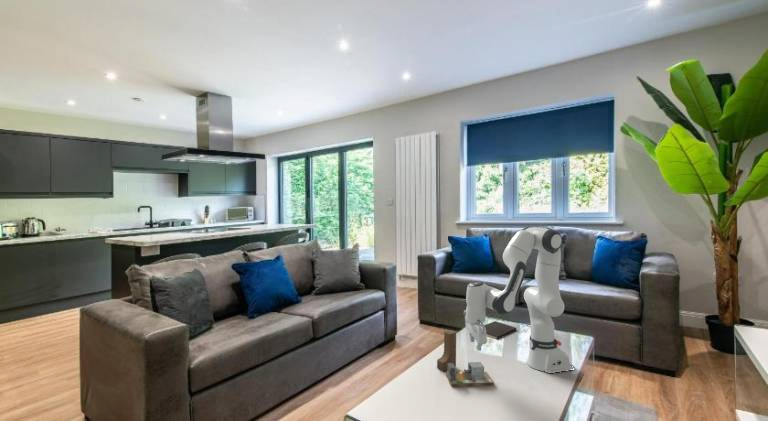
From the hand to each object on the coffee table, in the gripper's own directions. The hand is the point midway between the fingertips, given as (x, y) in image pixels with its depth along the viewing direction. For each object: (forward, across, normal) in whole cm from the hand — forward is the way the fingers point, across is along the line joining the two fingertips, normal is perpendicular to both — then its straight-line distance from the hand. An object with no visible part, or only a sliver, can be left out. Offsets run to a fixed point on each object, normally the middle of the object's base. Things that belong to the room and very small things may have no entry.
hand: (475, 345), depth 166 cm
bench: (+17, 0, +3) cm, 17 cm away
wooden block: (+17, +13, +11) cm, 24 cm away
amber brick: (+15, -4, +8) cm, 17 cm away
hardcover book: (+18, +59, -33) cm, 70 cm away
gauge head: (+15, -1, +1) cm, 15 cm away
